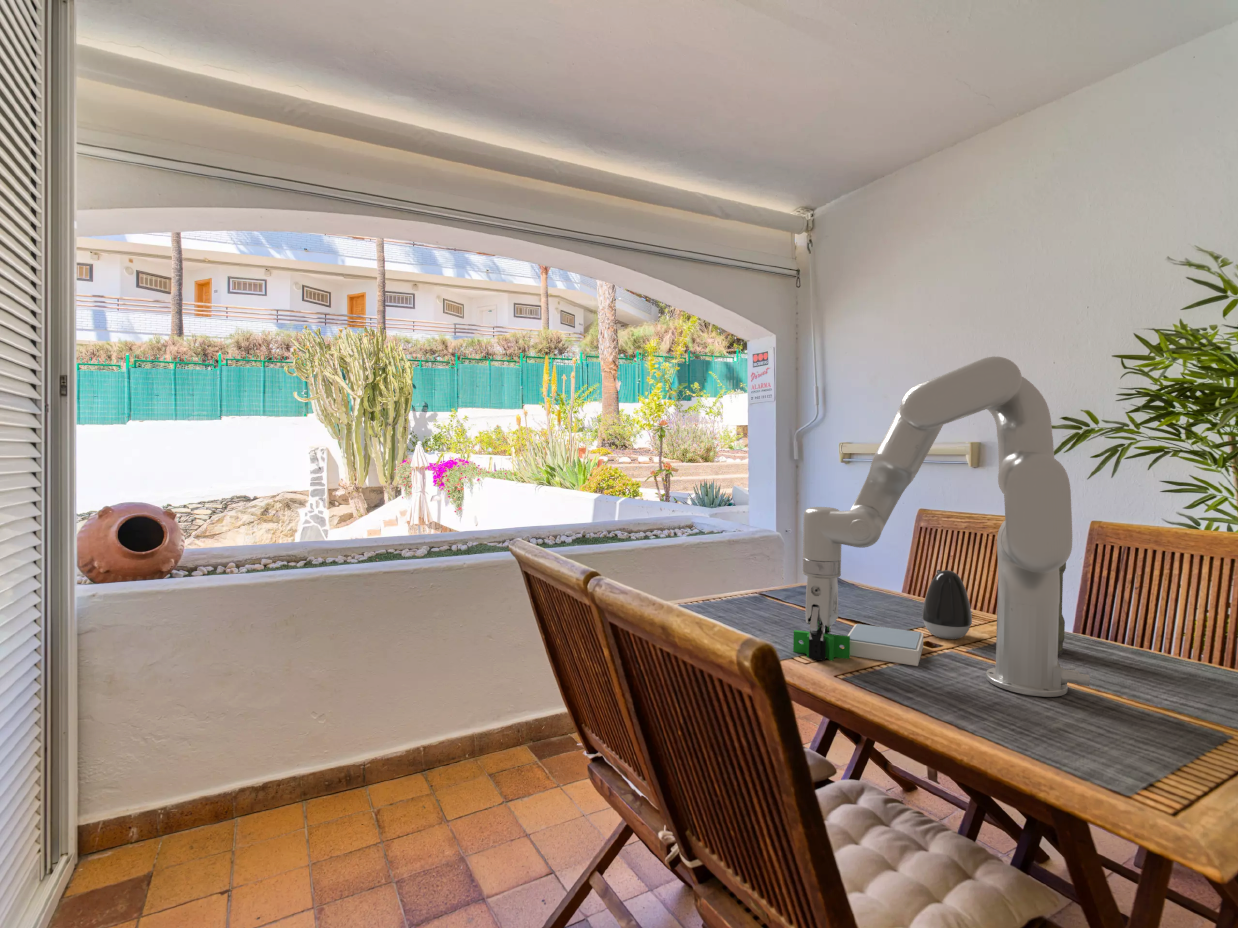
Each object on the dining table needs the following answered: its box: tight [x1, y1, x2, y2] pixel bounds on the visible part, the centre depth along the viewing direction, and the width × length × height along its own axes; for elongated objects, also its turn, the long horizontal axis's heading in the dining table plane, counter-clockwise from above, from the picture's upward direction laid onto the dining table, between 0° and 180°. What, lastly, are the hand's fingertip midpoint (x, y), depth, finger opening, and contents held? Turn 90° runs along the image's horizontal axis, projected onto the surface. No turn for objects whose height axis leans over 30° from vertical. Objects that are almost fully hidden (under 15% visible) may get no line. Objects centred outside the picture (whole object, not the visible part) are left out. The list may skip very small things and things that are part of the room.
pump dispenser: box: [921, 569, 973, 640], centre depth 148 cm, size 10×10×15 cm
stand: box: [843, 623, 924, 667], centre depth 137 cm, size 14×14×3 cm
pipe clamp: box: [792, 629, 851, 662], centre depth 133 cm, size 11×4×5 cm, turn 67°
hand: (819, 654), depth 133 cm, fingers open, 4 cm apart
